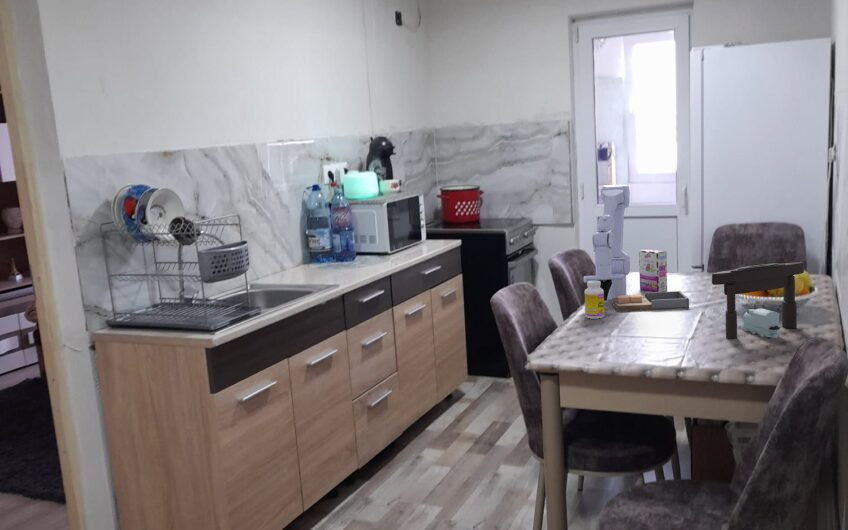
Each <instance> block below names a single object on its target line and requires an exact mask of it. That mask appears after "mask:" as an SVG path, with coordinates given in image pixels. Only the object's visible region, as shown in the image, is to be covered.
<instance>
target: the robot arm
mask: <svg viewBox="0 0 848 530" xmlns="http://www.w3.org/2000/svg"><path fill="white" fill-rule="evenodd" d="M600 195H601V196H600V197H601V200H602V203H603V204H604V206H603V215H601V216H600V217H599V218H598V224H597V226H596V227H597V228H596V231H595V232H594V233H593V234H592V239H591V241H592V247H593V252H594V255H595V258H594V259H595V260H594V261H595V262H594V263H595V274H594V275H585V276H583V282H584V283H587V282H588V281H594V280H596V281H600V282H601V285H600V288H602V289H603V291H604V302H607V301H612V298H617V296H620V295H627V276H628V275H629V274H630V271H631V263H630V260H631V259H630V256H629V254H628V253H626V252H625V251H624V250H623V246H624V221H625V219H624V218H625V210H626V209H627V208H628V207H629V205H630V197H631V196H630V195H631V192H630V187H629V185H628V184H614V185H613V184H611V185H605V184H604V185H602V187H601V189H600Z"/></svg>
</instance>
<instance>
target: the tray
mask: <svg viewBox="0 0 848 530" xmlns="http://www.w3.org/2000/svg"><path fill="white" fill-rule="evenodd" d="M644 297H645V298H646V299H647V300H648V301H649V302H650V303H651V304H652V310H651V311H654V310H655V311H656V310H657V311H659V310H676V309H690V298H689V297H688V296H686V294H685V293H683V291H681V290H673V291H671V290H670V291H667V292H650V291H649V292H644Z"/></svg>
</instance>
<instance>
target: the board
mask: <svg viewBox="0 0 848 530" xmlns="http://www.w3.org/2000/svg"><path fill="white" fill-rule="evenodd" d="M611 301H612V305H613V306H614V308H615V309H616V311H617V312H618V311H620V312H633V311H634V312H638V311H653V310H652V304H651V303H650V302H649V301H648V300H647V299H646V298H645V296H642V302H630V303H618V302H617V298H612V300H611Z"/></svg>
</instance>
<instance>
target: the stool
mask: <svg viewBox="0 0 848 530" xmlns="http://www.w3.org/2000/svg"><path fill="white" fill-rule="evenodd" d="M804 273H805V263H804V262H803V261H796V262H795V261H794V262H787V263H786V262H785V263H776V262H775V263H765V264H763V263H762V264H757V265H748V266H743V267H742V266H741V267H737V268H735V269H730V270H724V271H723V270H722V271H718V272H714V273H712V275H711V284H712V286H716V285H717V286H718V285H723V293H724V296H726V310H725V338H726V339H737V338H738V312H737V310H736V295H743V294H749V293H758V292H763V291H764V292H765V291H773V290H778V289H783V299H782V301H781V314H780V313H779V312H778V311H773V310H770V309H765V308H762V307H761V308H756V309H754V308H752V309H751V308H750V309H747V311H746V312H745V313H744V314H743V316H742V325H741V328H740V330H743V332H745V331H747V332H751V334H753V335H755V334H756V333H757V335H759V337H767V338H772V339H773V338H774V339H777V338H779V332H778V330H781V327H780V315H781V325H782V328H787V329H797V326H798V325H797V323H798V322H797V321H798V314H797V313H798V311H797V310H798V308H797V307H798V305H797V301H796V277H795V275H801V274H804Z"/></svg>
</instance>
